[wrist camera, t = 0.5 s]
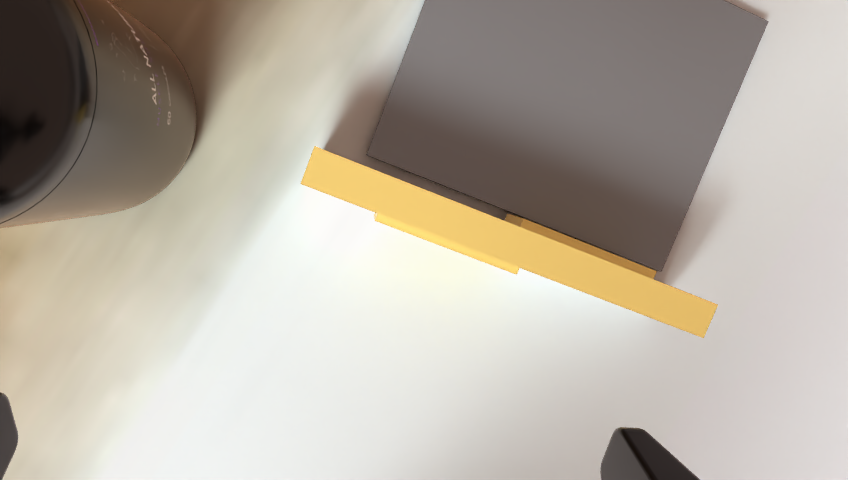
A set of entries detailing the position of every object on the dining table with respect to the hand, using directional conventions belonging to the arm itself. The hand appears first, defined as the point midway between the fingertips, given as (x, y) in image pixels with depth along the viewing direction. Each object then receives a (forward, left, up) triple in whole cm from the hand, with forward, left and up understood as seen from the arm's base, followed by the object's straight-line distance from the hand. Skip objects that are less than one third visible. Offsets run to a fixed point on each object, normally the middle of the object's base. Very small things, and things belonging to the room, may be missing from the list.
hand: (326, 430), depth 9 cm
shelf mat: (+9, -5, -13) cm, 17 cm away
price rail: (+3, -5, -13) cm, 14 cm away
